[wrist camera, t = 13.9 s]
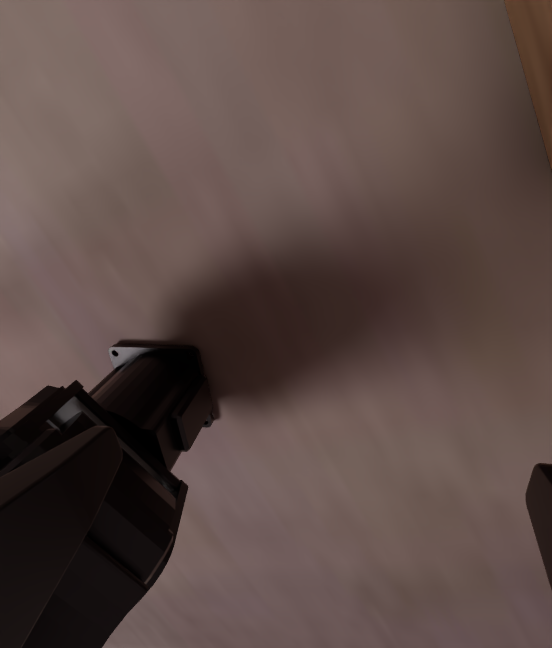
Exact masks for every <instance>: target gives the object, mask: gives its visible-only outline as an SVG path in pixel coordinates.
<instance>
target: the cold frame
mask: <svg viewBox="0 0 552 648" xmlns="http://www.w3.org/2000/svg"><path fill="white" fill-rule="evenodd" d="M504 2H505V5H506V9H507V12H508V16H509V20H510V23H511V27H512V30H513V34H514V37H515V41H516V45H517V48H518V52H519V55H520V59H521V62H522V66H523V70H524V73H525V77H526V80H527V84H528V87H529V91H530V95H531V98H532V102H533V105H534V109H535V112H536V116H537V120H538V123H539V127H540V130H541V134H542V137H543V141H544V145H545V148H546V152H547V155H548V159H549V162H550V166H551V170H552V0H504Z"/></svg>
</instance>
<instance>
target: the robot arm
mask: <svg viewBox="0 0 552 648" xmlns="http://www.w3.org/2000/svg"><path fill="white" fill-rule="evenodd" d="M115 350H116V351H117V352H118V353H117V352H116V351H115ZM108 352H109V355H110V358H111V361H112V364H113V367H114V370H113V371H112V372H111V373H110V374H109V375H107V376H106V377H105V378H104V379H103V380H102V381H101V382H100V383H99V384H98V385H97V386H96V387H94V388H93V389H92V390H91V391H90V392H89V393H87V392H86V391H85V390H84V389H83V386H82V385H81V384H80V383H79V382H78V381H77V380H75V381H74V382H73V383H72V384H71V385H69V386H68V387H67V388H66V389H65V388H64V387H63V386H62V387H60V388H57V387H53V386H46V387H45V388H44V389H42V390H41V391H40V392H38V393H37V394H36V395H35V396H33V397H32V398H31V399H29V400H28V401H27V402H25V403H24V404H23V405H21V406H20V407H19V408H17V409H16V410H15V411H13V412H12V413H10V414H9V415H7V416H6V417H5V418H3V419H2V420H0V648H102V647H103V645H104V644H105V642H106V641H107V639H108V638H109V636H110V635H111V634H112V632H113V631H114V630H115V628H116V627H117V626H118V625H119V623H120V622H121V621H122V620H123V618H124V617H125V616H126V614H127V613H128V612H129V611H130V610H131V609H132V608H133V607H134V606H135V605H136V604H137V603H138V602H139V601H140V600H141V599H142V597H143V596H144V595H145V594H146V593H147V592H148V590H149V589H150V588H151V587H152V586H153V584H154V583H155V582H156V580H157V579H158V577H159V576H160V575H161V573H162V571H163V569H164V568H165V566H166V564H167V562H168V560H169V558H170V556H171V553H172V550H173V547H174V544H175V540H176V535H177V531H178V527H179V523H180V519H181V515H182V511H183V507H184V502H185V498H186V494H187V490H188V485H187V484H185V483H184V482H183V481H182V480H179V479H178V478H177V477H176V476H175V475H173V474H172V473H171V472H170V471H171V469H172V468H173V466H174V464H175V462H176V461H177V459H178V457H179V455H180V454H181V452H182V451H183V452H187V451H188V450H189V449H190V448H191V446H192V444H193V443H194V441H195V439H196V437H197V435H198V434H199V432H200V430H201V428H202V427H210V426H211V425H212V423H213V421H214V418H213V414H212V408H213V405H212V400H211V395H210V390H209V386H208V381H207V378H206V377H205V376H204V372H203V367H202V363H201V358H200V353H199V351H198V349H197V348H196V347H194V346H178V345H134V344H114V345H113V346H112V347H111V348H109V351H108ZM189 352H190V353H192V354H193V356H192V355H190V354H189ZM206 420H207V421H206ZM526 505H527V509H528V512H529V516H530V519H531V522H532V526H533V529H534V533H535V536H536V539H537V543H538V546H539V549H540V553H541V556H542V560H543V563H544V566H545V570H546V573H547V577H548V580H549V583H550V586H551V589H552V464H546V463H538V464H536V465H535V466H534V468H533V471H532V474H531V478H530V481H529V484H528V487H527V491H526Z"/></svg>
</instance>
